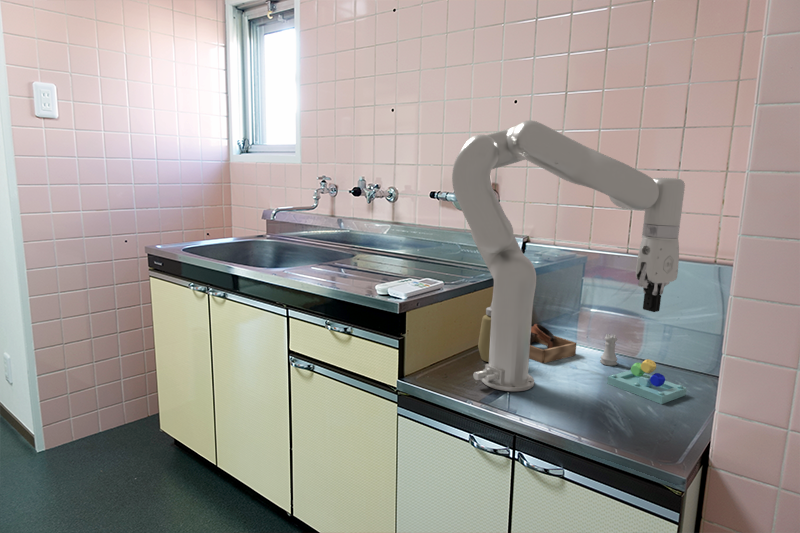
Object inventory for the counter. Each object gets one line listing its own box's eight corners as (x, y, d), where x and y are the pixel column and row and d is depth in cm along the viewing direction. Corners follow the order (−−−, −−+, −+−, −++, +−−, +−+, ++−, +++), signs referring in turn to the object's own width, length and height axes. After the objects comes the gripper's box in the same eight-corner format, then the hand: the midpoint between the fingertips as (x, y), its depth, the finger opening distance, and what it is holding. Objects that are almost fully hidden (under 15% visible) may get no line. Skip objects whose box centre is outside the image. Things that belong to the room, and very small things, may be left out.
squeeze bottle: (507, 366, 142) (511, 299, 139) (476, 363, 144) (480, 298, 141) (506, 356, 150) (510, 293, 147) (477, 354, 151) (480, 291, 148)
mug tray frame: (542, 363, 145) (543, 351, 144) (500, 347, 158) (501, 335, 158) (576, 355, 153) (577, 343, 152) (534, 340, 166) (534, 329, 165)
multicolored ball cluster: (665, 390, 126) (668, 364, 125) (658, 392, 124) (661, 366, 123) (634, 379, 132) (637, 354, 131) (628, 381, 131) (630, 355, 130)
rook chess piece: (618, 367, 144) (621, 338, 142) (601, 365, 145) (603, 336, 143) (615, 361, 148) (618, 333, 147) (598, 360, 149) (601, 332, 148)
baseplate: (661, 404, 120) (662, 394, 120) (607, 383, 132) (608, 374, 131) (685, 395, 126) (686, 386, 125) (631, 376, 137) (632, 367, 137)
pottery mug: (524, 342, 165) (540, 321, 162) (547, 363, 159) (563, 342, 157) (504, 340, 156) (521, 318, 154) (527, 362, 150) (545, 340, 148)
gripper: (656, 235, 116) (646, 317, 119) (694, 233, 124) (684, 310, 127) (625, 231, 122) (617, 310, 125) (663, 230, 130) (654, 303, 133)
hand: (650, 310), depth 126 cm, fingers closed
